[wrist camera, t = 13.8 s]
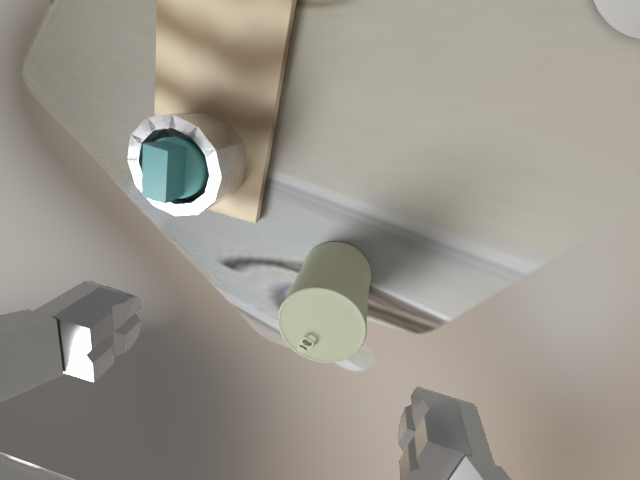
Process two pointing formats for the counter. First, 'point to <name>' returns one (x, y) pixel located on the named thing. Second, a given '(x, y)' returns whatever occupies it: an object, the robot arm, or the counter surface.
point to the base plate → (227, 76)
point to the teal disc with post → (173, 169)
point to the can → (328, 304)
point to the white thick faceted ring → (216, 144)
